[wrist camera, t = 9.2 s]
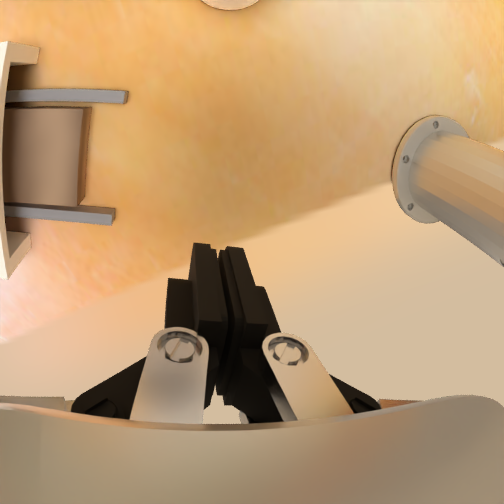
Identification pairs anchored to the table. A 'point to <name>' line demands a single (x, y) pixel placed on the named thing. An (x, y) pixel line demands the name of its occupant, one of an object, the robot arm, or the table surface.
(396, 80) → the table surface
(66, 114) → the walnut tile
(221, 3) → the can
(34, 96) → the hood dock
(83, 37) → the table surface
